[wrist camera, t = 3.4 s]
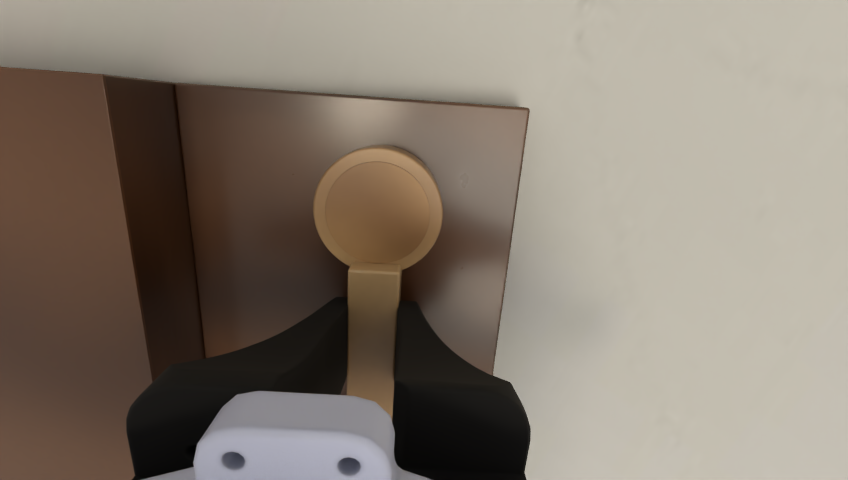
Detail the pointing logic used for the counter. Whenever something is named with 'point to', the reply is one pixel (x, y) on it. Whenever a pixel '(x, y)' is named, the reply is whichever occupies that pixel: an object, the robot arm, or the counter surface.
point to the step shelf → (206, 239)
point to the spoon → (376, 251)
